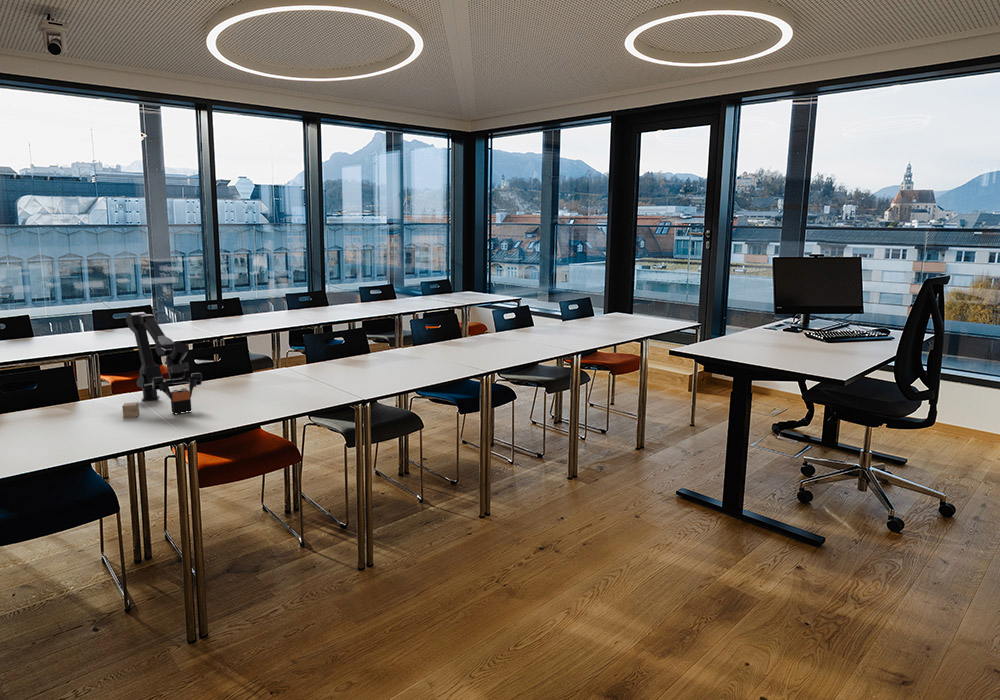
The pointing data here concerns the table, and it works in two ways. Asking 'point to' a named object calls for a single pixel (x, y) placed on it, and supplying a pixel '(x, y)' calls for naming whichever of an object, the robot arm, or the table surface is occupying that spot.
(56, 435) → the table surface
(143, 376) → the robot arm
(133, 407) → the beige cube
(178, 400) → the battery
